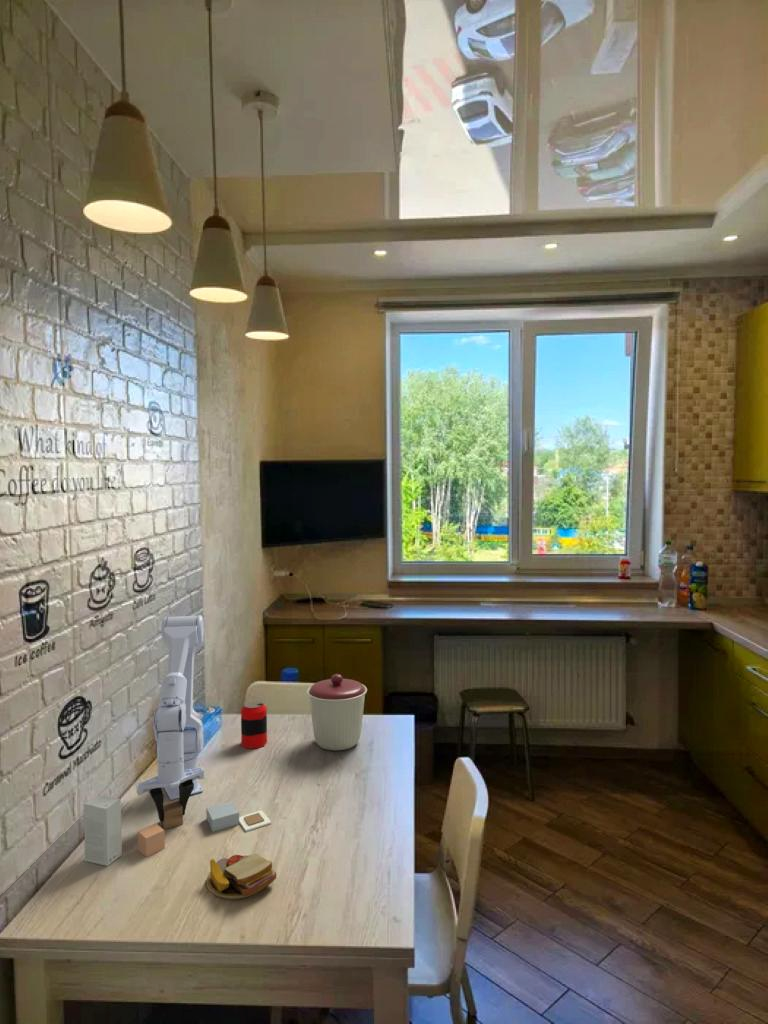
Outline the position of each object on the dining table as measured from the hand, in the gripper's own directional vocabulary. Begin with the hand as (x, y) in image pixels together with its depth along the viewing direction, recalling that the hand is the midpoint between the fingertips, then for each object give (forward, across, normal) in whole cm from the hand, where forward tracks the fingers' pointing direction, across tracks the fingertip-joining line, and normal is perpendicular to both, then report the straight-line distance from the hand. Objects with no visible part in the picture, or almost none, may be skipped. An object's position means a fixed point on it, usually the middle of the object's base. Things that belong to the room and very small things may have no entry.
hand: (171, 816), depth 135 cm
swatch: (+1, +16, -10) cm, 19 cm away
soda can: (+2, +31, +31) cm, 44 cm away
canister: (+2, +52, +17) cm, 55 cm away
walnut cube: (+1, 0, 0) cm, 1 cm away
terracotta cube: (+2, -6, -8) cm, 10 cm away
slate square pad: (+2, +10, -6) cm, 12 cm away
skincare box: (+2, -15, -6) cm, 16 cm away
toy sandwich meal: (+2, +7, -29) cm, 30 cm away
